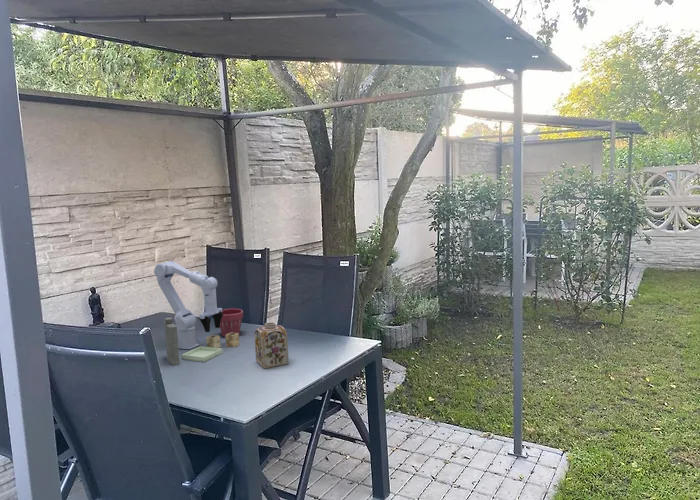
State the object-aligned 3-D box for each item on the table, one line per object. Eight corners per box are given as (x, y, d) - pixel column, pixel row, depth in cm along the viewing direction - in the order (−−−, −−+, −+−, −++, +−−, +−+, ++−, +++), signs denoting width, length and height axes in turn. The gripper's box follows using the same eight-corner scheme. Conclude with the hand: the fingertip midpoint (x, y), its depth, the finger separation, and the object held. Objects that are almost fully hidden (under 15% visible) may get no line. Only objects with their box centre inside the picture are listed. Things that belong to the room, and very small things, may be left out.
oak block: (226, 346, 256) (225, 334, 255) (231, 344, 260) (231, 332, 259) (233, 347, 254) (233, 335, 253) (239, 344, 258) (238, 332, 257)
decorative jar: (263, 369, 221) (261, 328, 219) (255, 361, 232) (252, 322, 229) (289, 364, 227) (287, 324, 225) (280, 356, 237) (278, 318, 235)
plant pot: (250, 332, 279) (248, 309, 277) (231, 339, 267) (229, 315, 265) (230, 329, 286) (229, 307, 285) (211, 336, 275) (209, 313, 273)
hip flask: (180, 364, 232) (176, 320, 229) (170, 366, 230) (167, 322, 228) (173, 355, 246) (170, 313, 243) (165, 356, 244) (161, 315, 241)
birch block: (207, 349, 253) (206, 337, 252) (213, 346, 257) (212, 334, 256) (214, 350, 251) (213, 338, 250) (220, 347, 255) (219, 335, 254)
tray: (181, 359, 239) (181, 354, 239) (200, 350, 251) (200, 346, 251) (204, 362, 234) (204, 357, 233) (222, 353, 246) (222, 348, 245)
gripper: (207, 306, 243) (209, 334, 244) (226, 299, 256) (228, 326, 258) (195, 305, 246) (197, 333, 247) (215, 298, 259) (216, 325, 260)
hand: (212, 329), depth 253 cm, fingers open, 7 cm apart
